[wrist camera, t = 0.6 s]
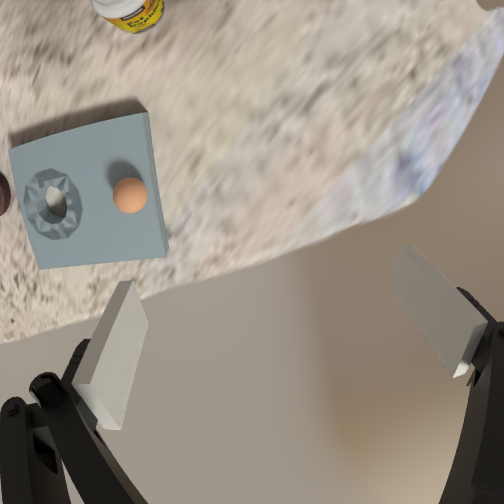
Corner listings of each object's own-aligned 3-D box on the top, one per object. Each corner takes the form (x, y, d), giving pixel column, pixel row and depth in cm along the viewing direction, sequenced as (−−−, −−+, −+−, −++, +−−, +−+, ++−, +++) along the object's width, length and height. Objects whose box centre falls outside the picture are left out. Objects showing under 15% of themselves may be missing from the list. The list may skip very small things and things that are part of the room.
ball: (116, 176, 30) (104, 185, 27) (148, 171, 30) (139, 179, 27) (122, 208, 32) (111, 220, 29) (153, 204, 32) (145, 215, 29)
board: (19, 146, 29) (8, 149, 27) (148, 112, 30) (142, 112, 28) (47, 260, 36) (39, 269, 34) (168, 247, 37) (165, 256, 35)
